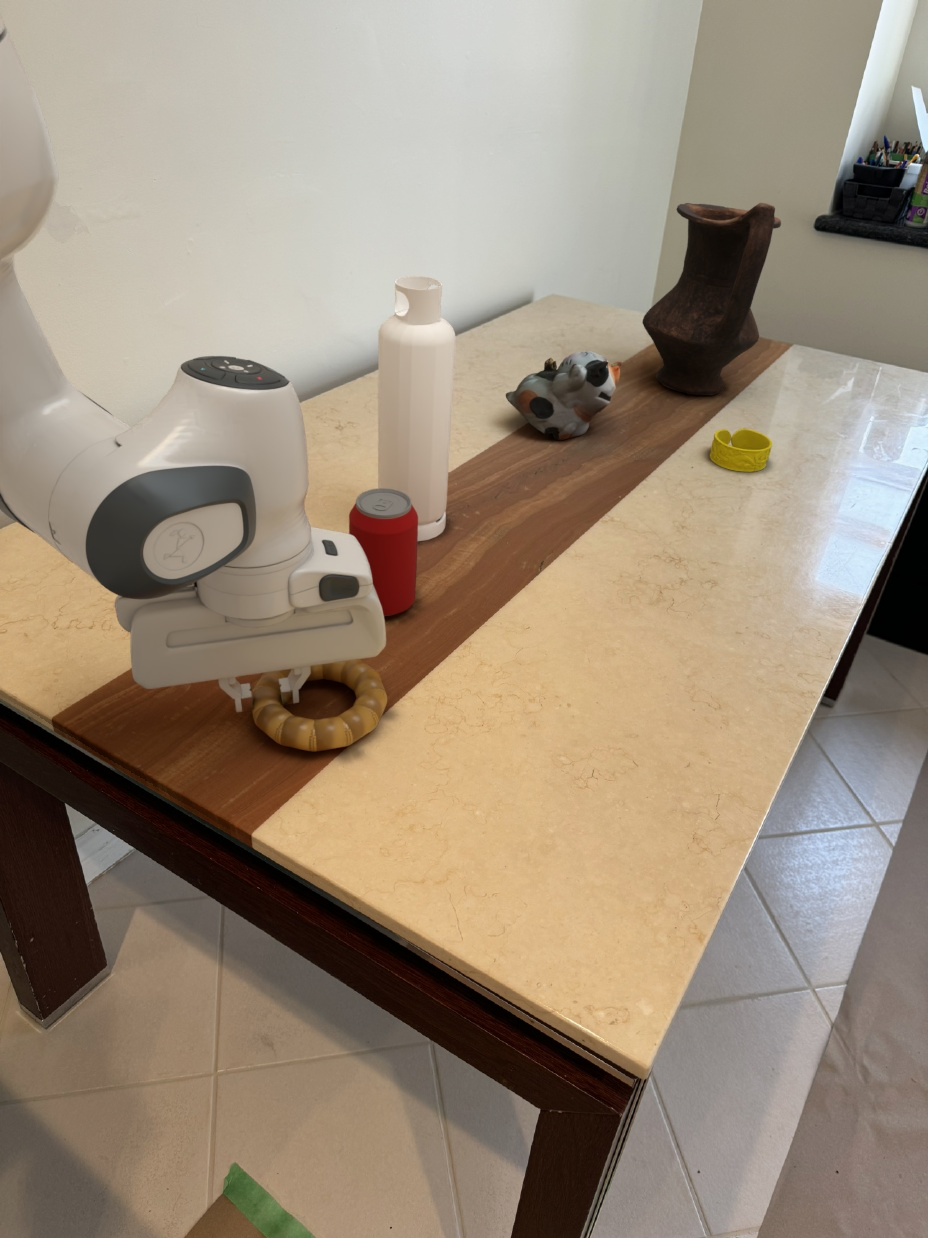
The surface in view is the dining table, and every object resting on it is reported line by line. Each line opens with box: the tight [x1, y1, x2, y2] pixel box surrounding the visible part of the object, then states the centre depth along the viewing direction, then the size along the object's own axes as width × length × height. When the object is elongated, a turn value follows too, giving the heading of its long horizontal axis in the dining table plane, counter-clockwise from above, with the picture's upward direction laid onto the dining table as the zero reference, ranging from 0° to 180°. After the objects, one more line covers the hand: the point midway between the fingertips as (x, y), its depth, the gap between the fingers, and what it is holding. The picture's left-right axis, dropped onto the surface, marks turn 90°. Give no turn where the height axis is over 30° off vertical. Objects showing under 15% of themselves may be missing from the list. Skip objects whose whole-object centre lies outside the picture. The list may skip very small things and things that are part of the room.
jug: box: [642, 202, 782, 396], centre depth 137 cm, size 21×18×30 cm
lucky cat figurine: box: [505, 350, 623, 441], centre depth 126 cm, size 15×12×14 cm
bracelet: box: [709, 428, 773, 473], centre depth 123 cm, size 7×8×3 cm
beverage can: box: [348, 487, 419, 617], centre depth 88 cm, size 7×7×12 cm
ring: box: [251, 659, 388, 753], centre depth 76 cm, size 12×12×3 cm
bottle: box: [377, 275, 457, 542], centre depth 96 cm, size 8×8×28 cm
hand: (267, 703), depth 75 cm, fingers closed on ring, 2 cm apart
